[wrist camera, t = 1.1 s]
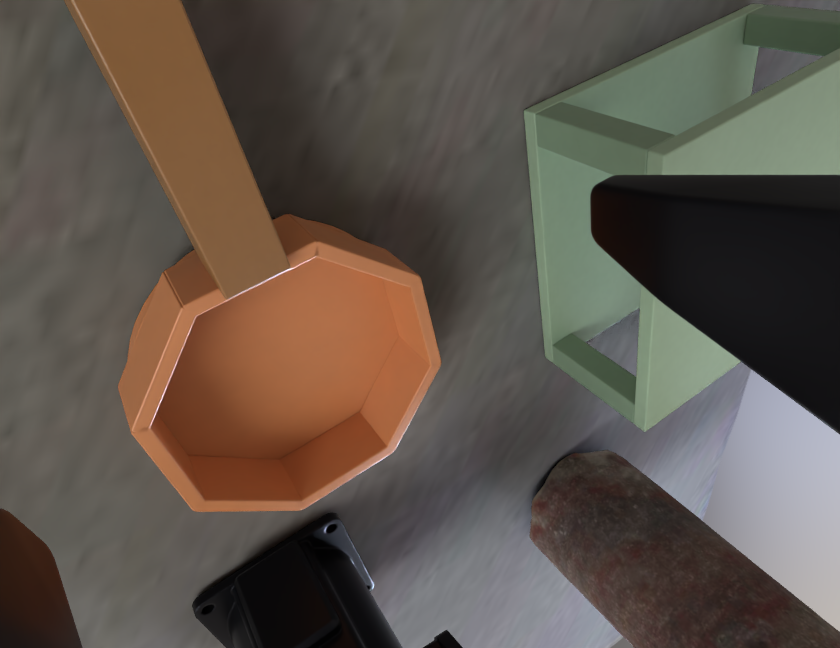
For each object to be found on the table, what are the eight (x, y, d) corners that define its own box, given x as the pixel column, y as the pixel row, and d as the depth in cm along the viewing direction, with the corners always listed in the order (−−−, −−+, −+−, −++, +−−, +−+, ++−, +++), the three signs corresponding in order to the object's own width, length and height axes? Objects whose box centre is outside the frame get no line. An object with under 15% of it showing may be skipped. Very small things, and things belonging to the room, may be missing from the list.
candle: (632, 436, 37) (1037, 749, 23) (584, 525, 40) (921, 857, 25) (551, 446, 32) (997, 848, 18) (503, 547, 35) (860, 969, 21)
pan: (415, 374, 24) (461, 420, 22) (206, 498, 21) (232, 566, 19) (280, -94, 14) (338, -100, 12) (-147, 29, 11) (-181, 53, 9)
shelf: (716, 247, 32) (830, 296, 27) (544, 357, 28) (644, 432, 24) (752, 2, 24) (917, 17, 20) (522, 109, 21) (664, 155, 16)
